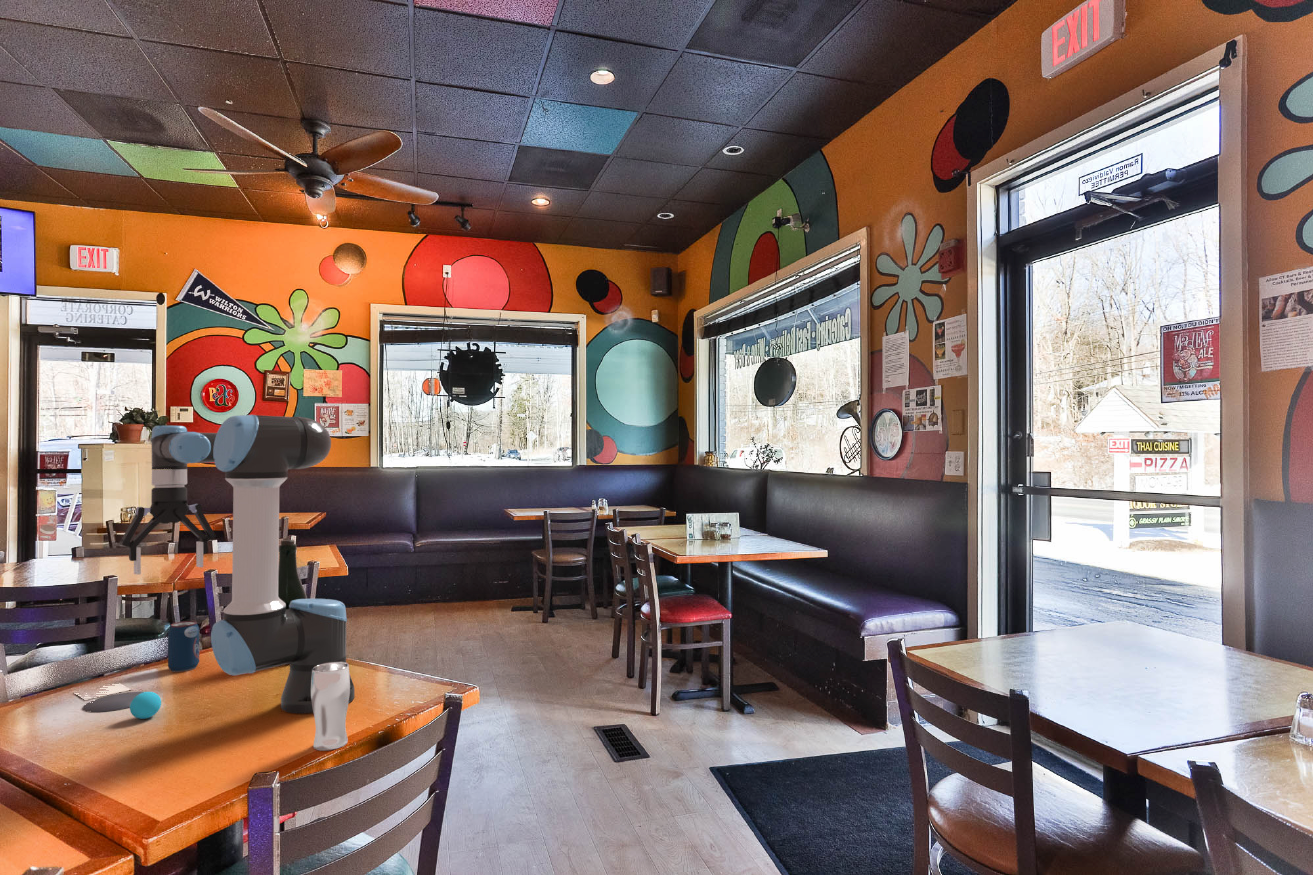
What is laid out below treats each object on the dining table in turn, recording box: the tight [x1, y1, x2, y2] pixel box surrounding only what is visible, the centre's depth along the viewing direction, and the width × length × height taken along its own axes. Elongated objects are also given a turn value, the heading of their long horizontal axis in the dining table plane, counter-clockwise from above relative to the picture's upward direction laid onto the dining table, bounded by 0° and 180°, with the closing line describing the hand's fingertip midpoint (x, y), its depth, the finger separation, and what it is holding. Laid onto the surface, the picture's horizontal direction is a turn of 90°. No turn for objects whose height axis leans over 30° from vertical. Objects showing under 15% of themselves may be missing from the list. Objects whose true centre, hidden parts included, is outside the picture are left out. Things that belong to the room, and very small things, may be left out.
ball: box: [129, 691, 162, 720], centre depth 154 cm, size 6×6×6 cm
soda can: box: [167, 620, 200, 673], centre depth 190 cm, size 7×7×12 cm
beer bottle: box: [278, 539, 308, 666], centre depth 197 cm, size 10×10×33 cm
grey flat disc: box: [82, 691, 144, 713], centre depth 164 cm, size 13×13×1 cm
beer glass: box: [311, 662, 351, 752], centre depth 139 cm, size 7×7×15 cm
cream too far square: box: [73, 682, 132, 701], centre depth 171 cm, size 9×9×1 cm
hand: (169, 570), depth 181 cm, fingers open, 13 cm apart
